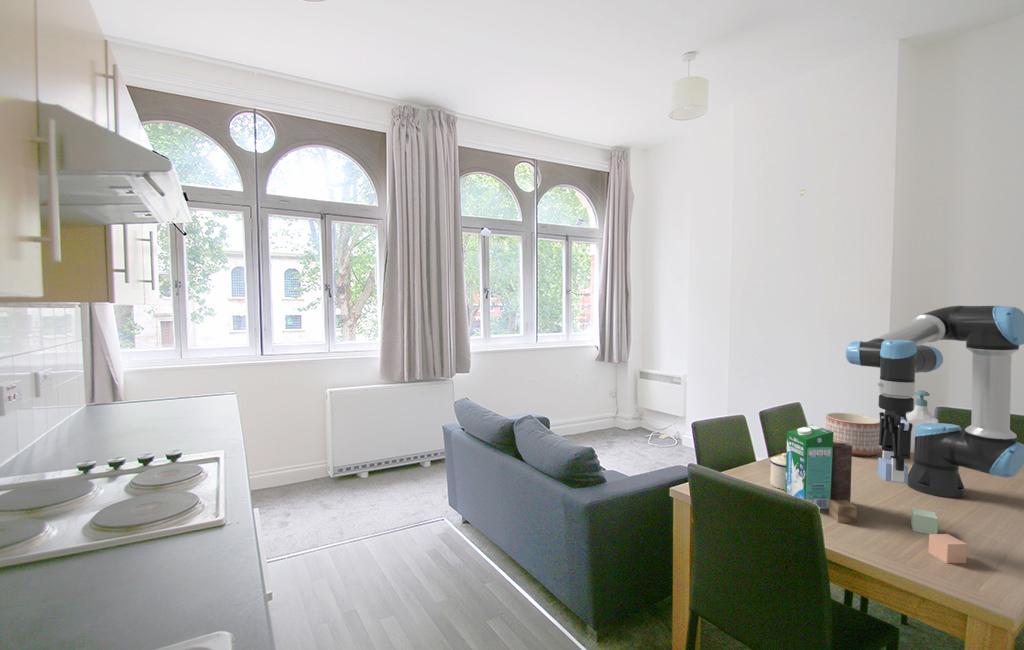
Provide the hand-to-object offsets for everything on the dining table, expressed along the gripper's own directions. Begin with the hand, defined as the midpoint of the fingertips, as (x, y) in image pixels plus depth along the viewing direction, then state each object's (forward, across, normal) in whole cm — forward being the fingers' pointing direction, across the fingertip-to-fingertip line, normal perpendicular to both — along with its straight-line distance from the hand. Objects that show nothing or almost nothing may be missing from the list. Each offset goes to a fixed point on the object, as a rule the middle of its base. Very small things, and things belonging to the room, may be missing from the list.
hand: (892, 477), depth 129 cm
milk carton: (+17, -16, -16) cm, 28 cm away
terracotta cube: (+17, +10, +8) cm, 21 cm away
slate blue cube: (+1, 0, 0) cm, 1 cm away
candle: (+17, -18, -8) cm, 26 cm away
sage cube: (+17, -6, +10) cm, 21 cm away
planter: (+17, -84, +18) cm, 87 cm away
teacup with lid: (+17, -30, -20) cm, 40 cm away
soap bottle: (+17, -92, +46) cm, 104 cm away
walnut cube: (+17, -6, -10) cm, 20 cm away
